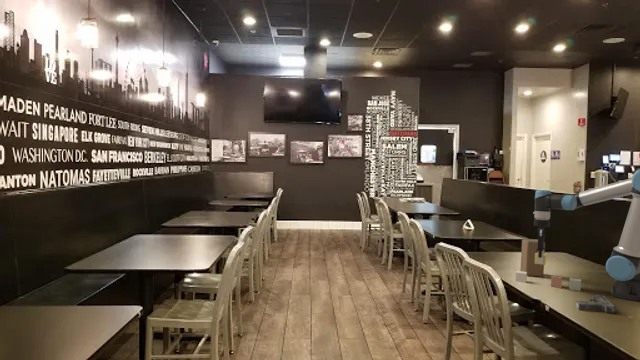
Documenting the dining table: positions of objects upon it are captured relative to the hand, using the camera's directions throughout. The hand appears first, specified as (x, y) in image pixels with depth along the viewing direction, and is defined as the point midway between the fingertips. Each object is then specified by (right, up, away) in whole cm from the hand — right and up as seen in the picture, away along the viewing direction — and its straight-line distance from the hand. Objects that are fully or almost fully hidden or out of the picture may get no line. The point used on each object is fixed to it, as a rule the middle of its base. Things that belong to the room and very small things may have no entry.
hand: (540, 262), depth 242 cm
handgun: (+6, -14, -36) cm, 39 cm away
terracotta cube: (+7, -12, -4) cm, 14 cm away
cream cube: (-8, -11, +5) cm, 15 cm away
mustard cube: (0, -1, 0) cm, 1 cm away
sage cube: (+14, -12, -8) cm, 20 cm away
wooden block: (+5, -11, +21) cm, 24 cm away
